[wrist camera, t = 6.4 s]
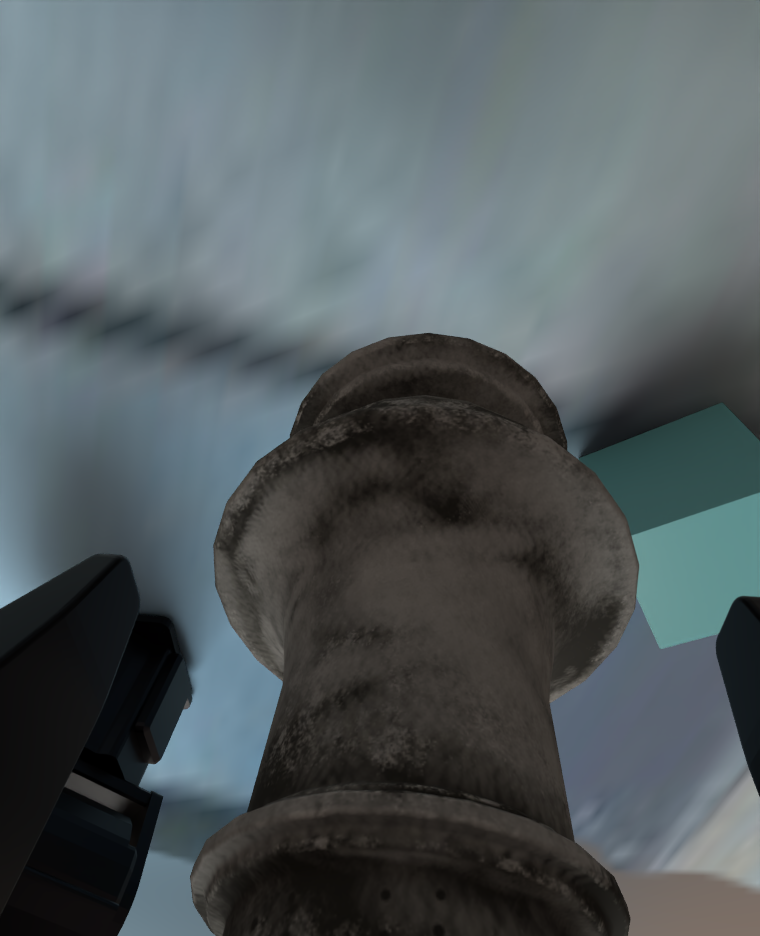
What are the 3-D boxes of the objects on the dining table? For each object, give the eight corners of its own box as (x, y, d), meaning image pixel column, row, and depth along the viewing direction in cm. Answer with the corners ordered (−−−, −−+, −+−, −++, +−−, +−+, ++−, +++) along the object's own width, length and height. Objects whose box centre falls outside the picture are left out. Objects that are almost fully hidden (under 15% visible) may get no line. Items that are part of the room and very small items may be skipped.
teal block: (621, 552, 23) (660, 649, 19) (578, 457, 21) (611, 542, 17) (753, 508, 22) (828, 603, 18) (721, 401, 20) (797, 479, 15)
